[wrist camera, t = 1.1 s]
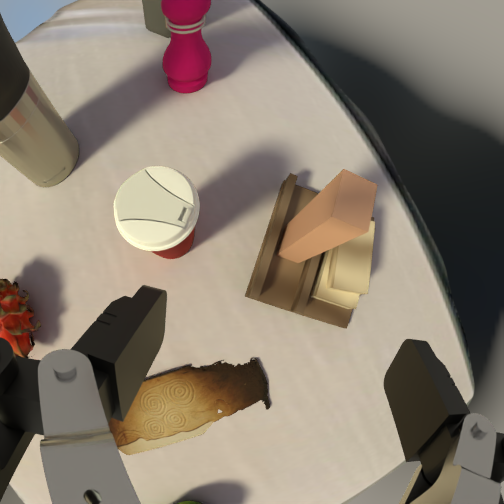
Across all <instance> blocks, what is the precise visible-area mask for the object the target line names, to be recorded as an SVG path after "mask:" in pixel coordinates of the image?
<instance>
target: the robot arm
mask: <svg viewBox="0 0 504 504" xmlns="http://www.w3.org/2000/svg"><path fill="white" fill-rule="evenodd" d="M78 155H79V145H78V142H77V140H76V138H75V137H74V136H73V134H72V133H71V131H70V130H69V128H68V127H67V125H66V124H65V122H64V121H63V120H62V118H61V117H60V115H59V114H58V112H57V111H56V109H55V108H54V106H53V105H52V103H51V102H50V100H49V99H48V97H47V96H46V94H45V93H44V91H43V90H42V88H41V87H40V85H39V84H38V82H37V81H36V79H35V78H34V76H33V74H32V73H31V71H30V70H29V68H28V66H27V65H26V63H25V62H24V60H23V58H22V56H21V54H20V52H19V50H18V48H17V46H16V44H15V42H14V41H13V39H12V37H11V35H10V33H9V32H8V29H7V27H6V26H5V23H4V21H3V19H2V16H1V14H0V156H1V157H2V158H4V159H5V160H6V161H7V162H8V163H10V164H11V165H12V166H13V167H15V168H16V169H17V170H18V171H20V172H21V173H22V174H23V175H24V176H26V177H27V178H28V179H29V180H31V181H32V182H33V183H35V184H36V185H38V186H40V187H50V186H54V185H56V184H58V183H60V182H61V181H62V180H64V179H65V178H66V177H67V176H68V175H69V174H70V172H71V171H72V170H73V168H74V166H75V164H76V162H77V159H78ZM166 303H167V293H166V291H165V290H161V289H157V288H153V287H150V286H146V285H143V286H142V287H141V288H140V289H139V290H138V291H137V292H136V294H135V295H134V296H133V297H132V298H131V297H127V296H123V297H121V298H119V299H117V300H115V301H113V302H111V304H110V305H109V306H108V307H107V308H106V309H105V310H104V311H103V314H101V315H100V316H99V317H98V318H97V320H96V321H95V322H94V323H93V324H92V325H91V326H90V327H89V328H88V330H87V331H86V332H85V333H84V334H83V335H82V337H81V338H80V339H79V340H78V341H77V342H76V344H75V345H74V346H73V347H72V348H71V350H69V349H62V350H56V351H53V352H51V353H49V354H47V355H46V356H45V357H44V358H43V359H42V360H34V359H28V358H23V357H18V356H15V354H14V351H13V348H12V346H11V344H10V343H9V342H8V341H7V340H5V339H4V338H1V337H0V501H1V499H2V497H3V494H4V492H5V490H6V488H7V486H8V484H9V482H10V480H11V478H12V476H13V474H14V472H15V470H16V468H17V466H18V464H19V462H20V460H21V459H22V457H23V455H24V453H25V451H26V449H27V447H28V446H29V444H30V442H31V440H32V438H33V437H34V435H35V434H40V435H44V440H41V441H40V451H41V457H42V462H43V467H44V472H45V477H46V481H47V485H48V489H49V493H50V497H51V501H52V504H141V503H140V501H139V499H138V497H137V494H136V492H135V490H134V488H133V486H132V483H131V481H130V479H129V476H128V474H127V471H126V469H125V466H124V464H123V461H122V459H121V456H120V454H119V451H118V448H117V445H116V443H115V440H114V437H113V435H112V432H111V431H110V429H109V426H108V423H109V422H110V420H111V418H114V419H116V420H119V421H122V422H123V421H124V419H125V417H126V415H127V413H128V411H129V409H130V407H131V405H132V403H133V401H134V399H135V397H136V395H137V393H138V391H139V389H140V387H141V385H142V383H143V381H144V379H145V377H146V375H147V373H148V371H149V369H150V367H151V365H152V363H153V361H154V359H155V357H156V355H157V353H158V352H159V350H160V348H161V345H162V342H163V338H164V332H165V318H166ZM384 390H385V393H386V396H387V399H388V402H389V405H390V408H391V411H392V415H393V418H394V421H395V424H396V428H397V431H398V434H399V438H400V441H401V445H402V448H403V452H404V455H405V459H406V462H411V461H421V465H420V466H419V467H418V468H417V469H416V471H415V472H414V475H413V477H412V479H411V481H410V483H409V485H408V487H407V489H406V491H405V493H404V495H403V497H402V499H401V501H400V502H399V504H504V501H503V498H502V495H501V484H500V483H501V482H502V481H504V434H502V433H497V432H496V430H495V428H494V426H493V424H492V423H491V422H490V421H489V420H488V419H487V418H486V417H484V416H483V415H480V414H477V413H470V411H469V409H468V407H467V405H466V403H465V401H464V400H463V398H462V396H461V394H460V392H459V390H458V388H457V386H455V383H454V381H453V379H452V378H450V374H449V372H448V370H447V369H446V367H445V365H444V364H443V363H442V362H441V361H440V360H439V359H438V358H437V357H436V355H435V354H434V352H433V350H432V349H431V347H430V345H429V344H428V342H426V341H421V340H413V339H406V340H405V341H404V342H403V343H402V345H401V347H400V349H399V351H398V353H397V354H396V356H395V358H394V360H393V362H392V363H391V365H390V367H389V369H388V370H387V372H386V375H385V378H384Z"/></svg>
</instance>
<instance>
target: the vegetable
mask: <svg viewBox="0 0 504 504" xmlns="http://www.w3.org/2000/svg"><path fill="white" fill-rule="evenodd" d="M177 504H202V503H201V502H194V501H183V502H180V503H177Z"/></svg>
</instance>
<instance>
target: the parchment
mask: <svg viewBox="0 0 504 504" xmlns="http://www.w3.org/2000/svg"><path fill="white" fill-rule="evenodd" d="M252 359H253V358H251V359H250V363H249V362H248V364H246V363H245V364H244V365H240V364H238V365H237V366H235V365H232V364H227V363H226V362H224V363H221V362H220V361H219V362H217V364H216V363H214V364H216V365H214V364H212V365H210V366H208V367H207V366H206V367H201V366H200V368H196V367H191V366H192V365H190V366H185V367H183V368H180V369H178V370H175V371H170V372H167V373H164V374H161V375H158V376H155V377H152V378H149V379H147V380H144V381H143V383H142V385H141V387H140V389H139V391H138V393H137V395H136V397H135V399H134V401H133V403H132V405H131V407H130V409H129V411H128V413H127V415H126V417H125V419H124V421H123V422H122V421H119V420H116V419H114V418H111V420H110V422H109V423H108V426H109V429H110V431H111V432H112V435H113V437H114V440H115V443H116V445H117V448H118V449H119V450H120V451H122V452H123V453H124V454H126V455H132V454H136V453H140V452H144V451H148V450H152V449H155V448H159V447H163V446H166V445H170V444H173V443H177V442H180V441H183V440H186V439H190V438H193V437H196V436H199V435H202V434H204V433H205V432H206V430H207V429H208V428H209V427H210V426H211V424H212V423H213V422H215V421H217V420H219V419H221V418H222V417H224V416H230V415H232V414H234V413H236V412H237V411H238V410H243V409H245V408H246V407H249V406H251V405H253V404H254V403H256V402H258V401H260V400H263V401H264V404H265V405H266V410H267V409H269V408H270V404H269V400H268V396H267V394H268V389H267V384H268V383H267V381H266V378H265V375H264V373H263V371H262V369H261V367H260V365H259V363H258V361H257V359H256V358H254V359H255V360H252ZM222 361H224V360H222ZM234 366H235V367H234ZM263 401H262V402H263ZM218 409H220V410H222V411H223V412H222V413H218ZM217 413H218V414H217Z"/></svg>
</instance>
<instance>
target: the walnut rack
mask: <svg viewBox="0 0 504 504" xmlns="http://www.w3.org/2000/svg"><path fill="white" fill-rule="evenodd" d="M297 177H298V176H296V175H293V174H291V173H290V175H289V176H288V178H287V179H286V181H285V180H284V181H283V183H282V186H281V189H280V192H279V195H278V198H277V201H276V204H275V207H274V210H273V213H272V216H271V219H270V222H269V225H268V228H267V231H266V234H265V237H264V240H263V243H262V246H261V249H260V252H259V255H258V258H257V261H256V264H255V267H254V270H253V273H252V276H251V279H250V282H249V285H248V288H247V291H246V294H245V297H248V298H251V299H254V300H257V301H260V302H263V303H266V304H269V305H272V306H275V307H278V308H281V309H285V310H288V311H291V312H294V313H297V314H300V315H303V316H306V317H310V318H313V319H316V320H319V321H322V322H326V323H329V324H332V325H336V326H339V327H342V328H347V326H348V323H349V319H350V316H351V312H352V309H347V308H344V307H341V306H338V305H335V304H331V303H328V302H325V301H322V300H319V299H316V298H313V297H310V294H311V291H312V287H313V284H314V281H315V277H316V274H317V270H318V267H319V263H320V260H321V256H322V253H321V254H318V255H316V256H314V257H311V258H309V259H307V260H305V261H302V262H300V263H296V262H293V261H291V260H288V259H285V258H282V257H280V256H277V251H278V248H279V245H280V242H281V239H282V236H283V232H284V229H285V226H286V225H287V224H288V223H289V222H290V221H291V220H292V219H293V218H294V217H295V216H296V215H297V214H298V213H299V212H300V211H301V210H302V209H303V208H304V207H305V206H306V205H308V204H309V203H310V202H311V201H312V200H313V199H314V198H315V197H316V196H317V195H318V193H316V192H313V191H311V190H308V189H306V188H303V187H301V186H298V185H296V184H295V183H296V180H297ZM371 221H374V217H371Z"/></svg>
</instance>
